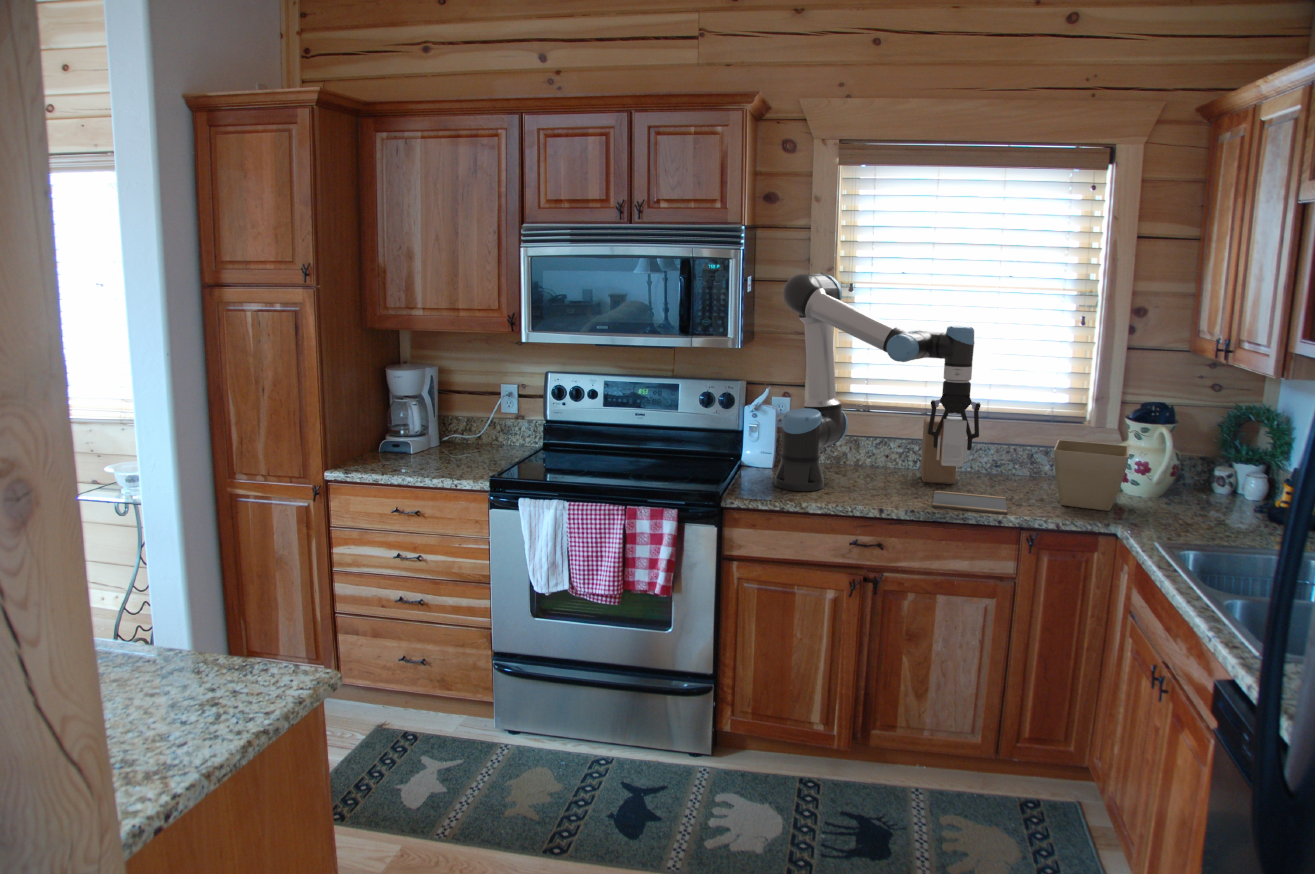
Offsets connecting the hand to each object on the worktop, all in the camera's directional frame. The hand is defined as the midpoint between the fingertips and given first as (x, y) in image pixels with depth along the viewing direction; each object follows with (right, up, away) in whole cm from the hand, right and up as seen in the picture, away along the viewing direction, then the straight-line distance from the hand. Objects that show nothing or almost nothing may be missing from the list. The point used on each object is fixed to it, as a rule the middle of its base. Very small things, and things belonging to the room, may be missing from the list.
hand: (951, 459), depth 257 cm
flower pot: (+40, -13, +2) cm, 42 cm away
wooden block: (+5, -7, +28) cm, 29 cm away
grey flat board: (+5, -13, +1) cm, 14 cm away
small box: (0, -1, 0) cm, 1 cm away
